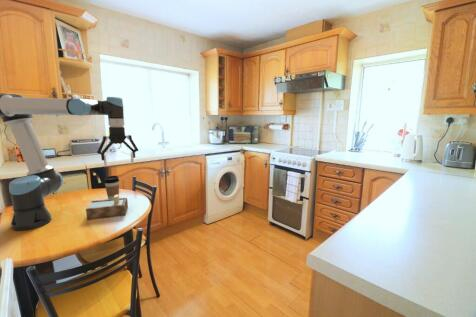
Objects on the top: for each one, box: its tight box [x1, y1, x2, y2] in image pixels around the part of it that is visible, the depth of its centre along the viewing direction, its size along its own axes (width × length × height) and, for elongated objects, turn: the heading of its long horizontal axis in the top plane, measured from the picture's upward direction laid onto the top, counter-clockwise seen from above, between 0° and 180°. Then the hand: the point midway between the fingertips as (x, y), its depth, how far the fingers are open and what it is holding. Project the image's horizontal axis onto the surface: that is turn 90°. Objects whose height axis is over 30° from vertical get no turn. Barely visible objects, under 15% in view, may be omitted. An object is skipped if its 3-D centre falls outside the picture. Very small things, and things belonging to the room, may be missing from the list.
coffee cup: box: [103, 175, 120, 199], centre depth 148 cm, size 8×8×15 cm
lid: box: [87, 193, 124, 208], centre depth 129 cm, size 16×9×5 cm, turn 108°
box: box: [85, 197, 129, 221], centre depth 130 cm, size 18×12×6 cm, turn 108°
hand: (119, 164), depth 131 cm, fingers open, 13 cm apart
